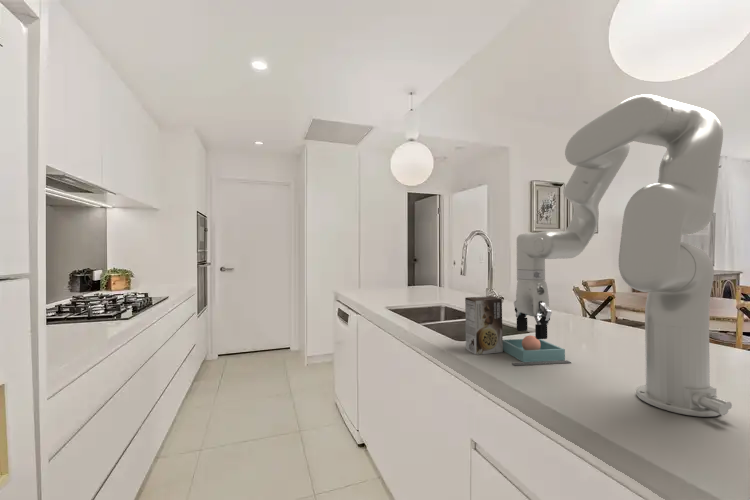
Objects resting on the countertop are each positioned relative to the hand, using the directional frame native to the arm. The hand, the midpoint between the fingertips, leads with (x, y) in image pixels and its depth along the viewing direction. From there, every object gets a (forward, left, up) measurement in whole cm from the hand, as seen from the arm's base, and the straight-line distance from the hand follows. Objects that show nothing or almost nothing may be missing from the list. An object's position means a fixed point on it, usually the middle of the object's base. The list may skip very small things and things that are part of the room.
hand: (531, 334), depth 99 cm
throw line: (-8, +2, -6) cm, 10 cm away
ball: (0, 0, -3) cm, 3 cm away
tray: (0, 0, -6) cm, 6 cm away
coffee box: (+6, +12, -6) cm, 14 cm away
